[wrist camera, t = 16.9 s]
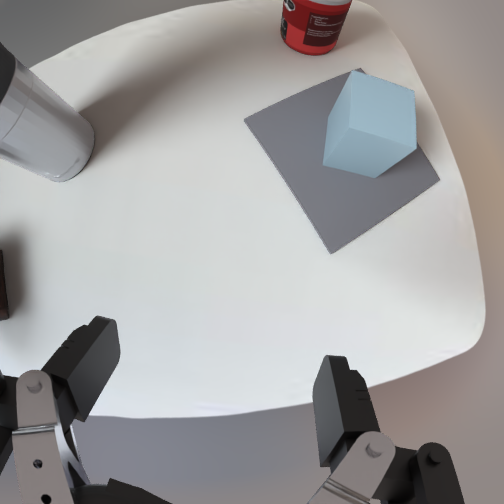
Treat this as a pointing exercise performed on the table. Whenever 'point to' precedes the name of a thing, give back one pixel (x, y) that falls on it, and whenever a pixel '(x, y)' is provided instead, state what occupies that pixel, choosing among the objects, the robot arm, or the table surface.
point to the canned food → (313, 24)
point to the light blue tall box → (370, 126)
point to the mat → (331, 179)
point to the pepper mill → (3, 292)
